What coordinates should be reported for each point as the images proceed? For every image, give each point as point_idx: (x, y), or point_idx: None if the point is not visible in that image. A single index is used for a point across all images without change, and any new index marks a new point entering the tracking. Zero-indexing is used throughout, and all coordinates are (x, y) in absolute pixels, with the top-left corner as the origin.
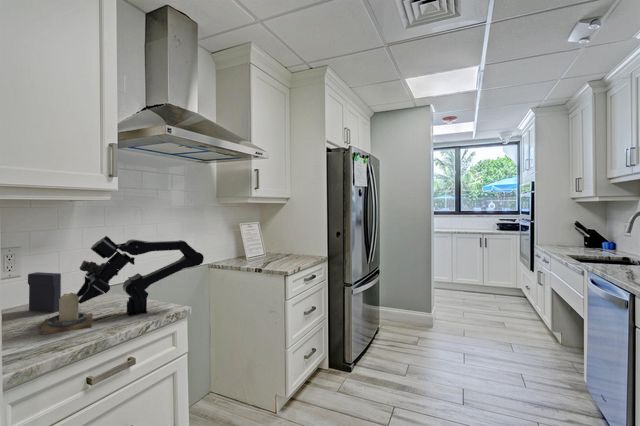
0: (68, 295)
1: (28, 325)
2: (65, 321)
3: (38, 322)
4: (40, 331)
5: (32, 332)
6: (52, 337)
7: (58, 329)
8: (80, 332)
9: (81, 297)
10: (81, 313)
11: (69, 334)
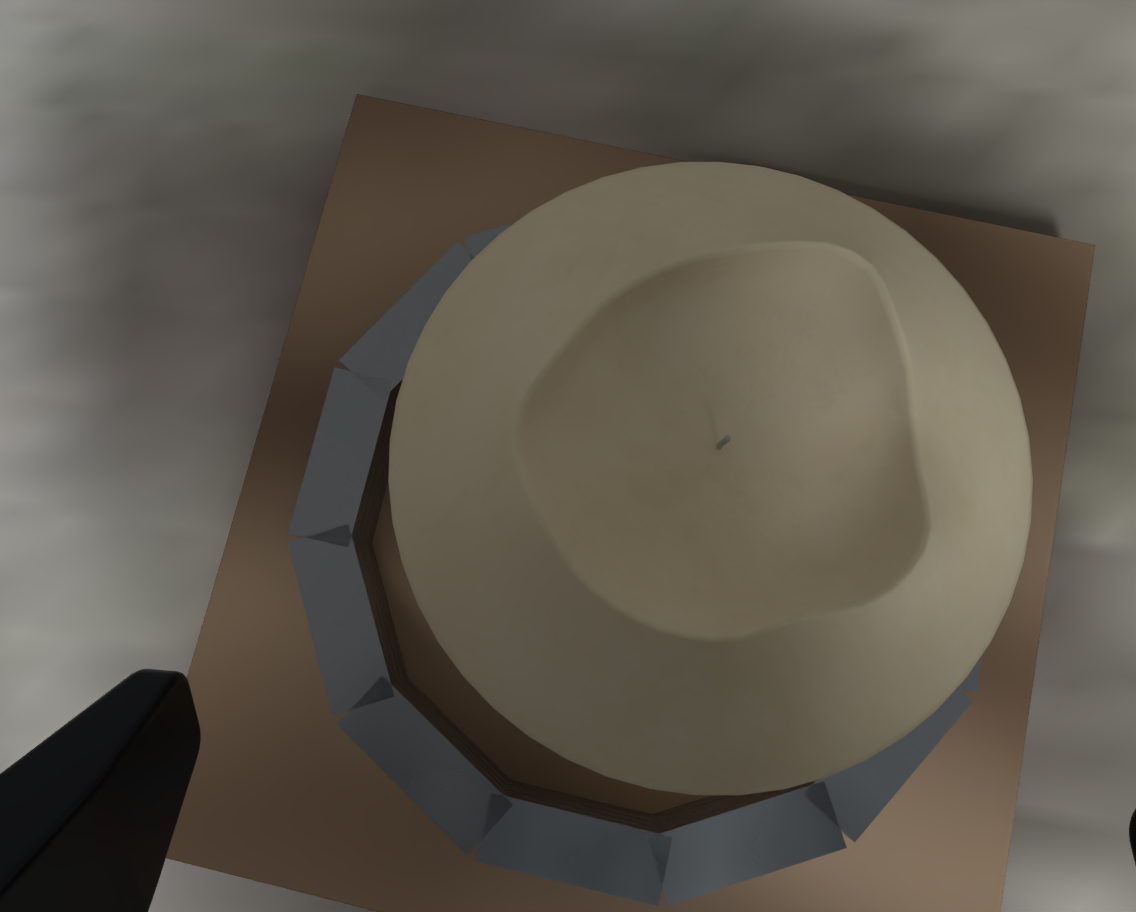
0: (539, 379)
1: (1000, 41)
2: (376, 437)
3: (1087, 171)
4: (353, 106)
5: (562, 58)
6: (91, 251)
7: (292, 340)
8: (9, 625)
9: (22, 803)
10: (775, 805)
11: (42, 467)
